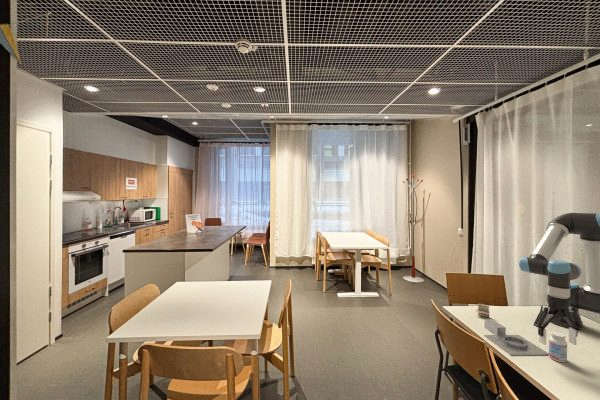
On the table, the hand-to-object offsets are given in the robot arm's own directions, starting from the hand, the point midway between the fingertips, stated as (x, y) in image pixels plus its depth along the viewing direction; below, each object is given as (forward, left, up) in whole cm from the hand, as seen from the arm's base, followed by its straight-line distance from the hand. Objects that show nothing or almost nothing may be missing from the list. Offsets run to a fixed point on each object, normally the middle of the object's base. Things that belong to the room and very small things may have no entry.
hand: (557, 343), depth 126 cm
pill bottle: (0, 0, -7) cm, 7 cm away
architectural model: (+3, -45, -8) cm, 46 cm away
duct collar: (+10, -17, -7) cm, 21 cm away
